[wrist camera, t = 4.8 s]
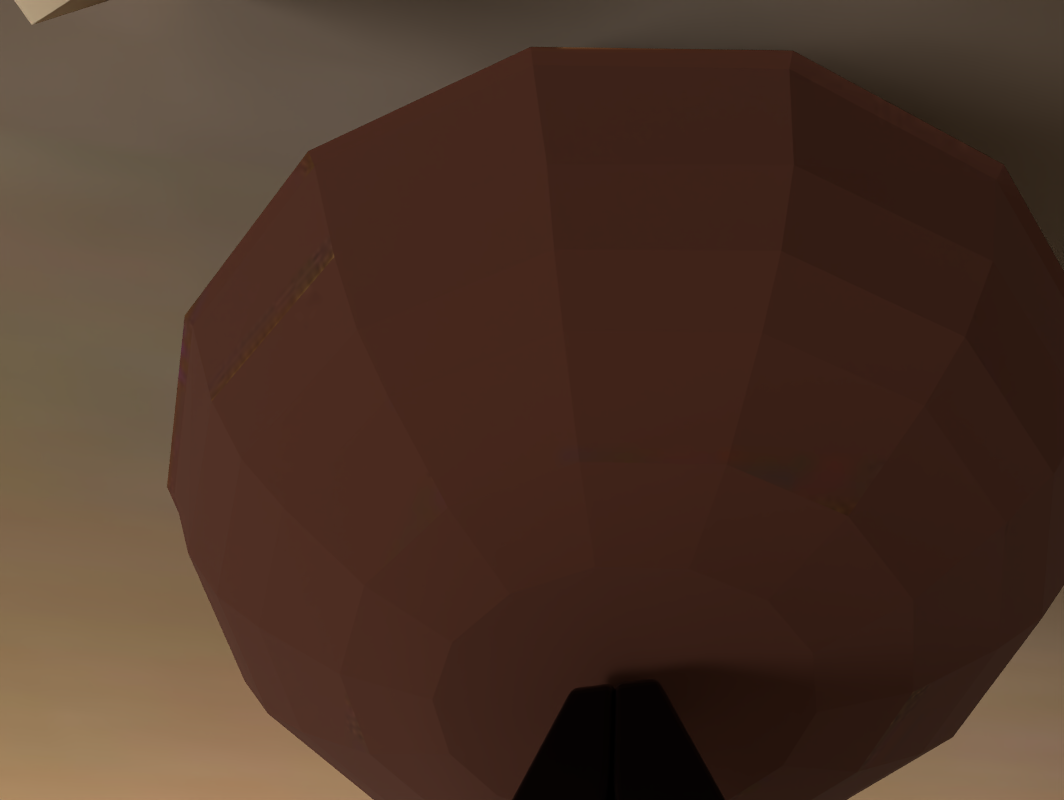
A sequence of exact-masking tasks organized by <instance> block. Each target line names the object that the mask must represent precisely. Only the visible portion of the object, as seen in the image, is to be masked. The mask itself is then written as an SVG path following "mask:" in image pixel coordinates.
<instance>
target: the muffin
mask: <svg viewBox="0 0 1064 800" xmlns="http://www.w3.org/2000/svg"><path fill="white" fill-rule="evenodd" d="M167 488H168V490H169V492H170V494H171V496H172V499H173V501H174V503H175V505H176V508H177V510H178V512H179V515H180V519H181V524H182V528H183V532H184V537H185V541H186V545H187V550H188V553H189V556H190V558H191V560H192V562H193V565H194V567H195V569H196V571H197V574H198V576H199V578H200V581H201V583H202V585H203V587H204V590H205V592H206V594H207V596H208V599H209V601H210V603H211V606H212V608H213V610H214V612H215V615H216V617H217V619H218V621H219V624H220V626H221V628H222V630H223V633H224V635H225V637H226V640H227V642H228V644H229V646H230V649H231V651H232V653H233V655H234V658H235V660H236V662H237V664H238V667H239V669H240V671H241V674H242V676H243V678H244V680H245V682H246V684H247V685H248V686H249V688H250V689H251V690H252V692H253V693H254V695H255V696H256V697H257V699H258V700H259V702H260V703H261V704H262V706H263V707H264V709H265V710H266V711H267V713H268V714H269V715H270V716H272V717H273V718H274V719H275V720H277V721H278V722H279V723H280V724H282V725H283V726H284V727H285V728H286V729H288V730H289V731H290V732H291V733H293V734H294V735H295V736H296V737H297V738H299V739H300V740H301V741H302V742H304V743H305V744H306V745H307V746H308V747H310V748H311V749H312V750H313V751H315V752H316V753H317V754H318V755H320V756H321V757H322V758H323V759H324V760H326V761H327V762H328V763H329V764H331V765H332V766H333V767H334V768H335V769H337V770H338V771H339V772H340V773H342V774H343V775H344V776H345V777H346V778H348V779H349V780H350V781H351V782H353V783H354V784H355V785H356V786H358V787H359V788H360V789H361V790H362V791H364V792H365V793H366V794H367V795H369V796H370V797H371V798H372V799H374V800H512V799H513V797H514V795H515V793H516V791H517V790H518V788H519V786H520V784H521V782H522V780H523V778H524V777H525V775H526V773H527V771H528V769H529V767H530V765H531V764H532V762H533V760H534V758H535V756H536V754H537V752H538V751H539V749H540V747H541V745H542V743H543V741H544V739H545V738H546V736H547V734H548V732H549V730H550V728H551V726H552V725H553V723H554V721H555V719H556V717H557V715H558V713H559V712H560V710H561V708H562V706H563V704H564V702H565V700H566V699H567V697H568V695H569V693H570V692H571V691H572V690H574V689H575V688H579V687H587V686H595V685H603V684H609V685H611V686H613V687H614V688H615V690H616V687H617V685H618V684H619V683H621V682H628V681H637V680H645V679H655V680H657V681H658V682H659V683H660V684H661V685H662V687H663V689H664V691H665V693H666V694H667V696H668V698H669V700H670V702H671V703H672V705H673V707H674V709H675V710H676V712H677V714H678V716H679V718H680V719H681V721H682V723H683V725H684V727H685V728H686V730H687V732H688V734H689V736H690V737H691V739H692V741H693V743H694V745H695V746H696V748H697V750H698V752H699V754H700V755H701V757H702V759H703V761H704V763H705V764H706V766H707V768H708V770H709V771H710V773H711V775H712V777H713V779H714V780H715V782H716V784H717V786H718V788H719V789H720V791H721V793H722V795H723V797H724V798H725V800H847V799H849V798H850V797H852V796H854V795H855V794H857V793H859V792H860V791H862V790H864V789H866V788H867V787H869V786H871V785H872V784H874V783H876V782H877V781H879V780H881V779H882V778H884V777H886V776H888V775H889V774H891V773H893V772H894V771H896V770H898V769H899V768H901V767H903V766H905V765H906V764H908V763H910V762H911V761H913V760H915V759H916V758H918V757H920V756H921V755H923V754H925V753H927V752H928V751H930V750H932V749H933V748H935V747H937V746H938V745H940V744H942V743H943V742H945V741H947V740H949V739H950V738H952V737H953V736H954V735H955V733H956V732H957V731H958V729H959V728H960V727H961V725H962V724H963V723H964V721H965V720H966V719H967V717H968V716H969V715H970V713H971V712H972V711H973V709H974V708H975V707H976V705H977V704H978V703H979V701H980V700H981V699H982V697H983V696H984V695H985V693H986V692H987V691H988V689H989V688H990V687H991V685H992V684H993V683H994V681H995V680H996V679H997V677H998V676H999V675H1000V673H1001V672H1002V671H1003V669H1004V668H1005V667H1006V665H1007V664H1008V663H1009V661H1010V660H1011V659H1012V657H1013V656H1014V655H1015V653H1016V652H1017V651H1018V649H1019V648H1020V647H1021V645H1022V644H1023V643H1024V641H1025V640H1026V639H1027V637H1028V636H1029V635H1030V633H1031V632H1032V631H1033V629H1034V628H1035V627H1036V625H1037V624H1038V623H1039V621H1040V620H1041V619H1042V617H1043V616H1044V614H1045V613H1046V611H1047V610H1048V608H1049V607H1050V605H1051V604H1052V602H1053V601H1054V599H1055V598H1056V596H1057V595H1058V593H1059V592H1060V590H1061V589H1062V587H1063V586H1064V271H1063V269H1062V267H1061V266H1060V264H1059V262H1058V260H1057V258H1056V257H1055V255H1054V253H1053V251H1052V250H1051V248H1050V246H1049V244H1048V242H1047V241H1046V239H1045V237H1044V235H1043V234H1042V232H1041V230H1040V228H1039V226H1038V225H1037V223H1036V221H1035V219H1034V217H1033V216H1032V214H1031V212H1030V210H1029V209H1028V207H1027V205H1026V203H1025V201H1024V200H1023V198H1022V196H1021V194H1020V192H1019V191H1018V189H1017V187H1016V185H1015V184H1014V182H1013V180H1012V178H1011V176H1010V175H1009V173H1008V171H1007V169H1006V168H1005V166H1004V165H1003V164H1002V163H1000V162H998V161H996V160H994V159H992V158H991V157H989V156H987V155H985V154H983V153H981V152H979V151H978V150H976V149H974V148H972V147H970V146H968V145H966V144H965V143H963V142H961V141H959V140H957V139H955V138H954V137H952V136H950V135H948V134H946V133H944V132H942V131H941V130H939V129H937V128H935V127H933V126H931V125H929V124H928V123H926V122H924V121H922V120H920V119H918V118H916V117H915V116H913V115H911V114H909V113H907V112H905V111H904V110H902V109H900V108H898V107H896V106H894V105H892V104H891V103H889V102H887V101H885V100H883V99H881V98H879V97H878V96H876V95H874V94H872V93H870V92H868V91H867V90H865V89H863V88H861V87H859V86H857V85H855V84H854V83H852V82H850V81H848V80H846V79H844V78H842V77H841V76H839V75H837V74H835V73H833V72H831V71H829V70H828V69H826V68H824V67H822V66H820V65H818V64H817V63H815V62H813V61H811V60H809V59H807V58H805V57H804V56H802V55H800V54H798V53H796V52H794V51H783V50H712V49H641V48H570V47H530V48H527V49H525V50H523V51H521V52H519V53H517V54H515V55H512V56H510V57H508V58H506V59H504V60H502V61H500V62H498V63H495V64H493V65H491V66H489V67H487V68H485V69H483V70H480V71H478V72H476V73H474V74H472V75H470V76H468V77H466V78H463V79H461V80H459V81H457V82H455V83H453V84H451V85H448V86H446V87H444V88H442V89H440V90H438V91H436V92H434V93H431V94H429V95H427V96H425V97H423V98H421V99H419V100H416V101H414V102H412V103H410V104H408V105H406V106H404V107H402V108H399V109H397V110H395V111H393V112H391V113H389V114H387V115H385V116H382V117H380V118H378V119H376V120H374V121H372V122H370V123H367V124H365V125H363V126H361V127H359V128H357V129H355V130H353V131H350V132H348V133H346V134H344V135H342V136H340V137H338V138H335V139H333V140H331V141H329V142H327V143H325V144H323V145H321V146H318V147H316V148H314V149H312V150H310V151H308V152H307V154H306V155H305V156H304V158H303V159H302V160H301V162H300V163H299V164H298V166H297V167H296V168H295V170H294V171H293V172H292V174H291V175H290V176H289V178H288V179H287V180H286V182H285V183H284V184H283V186H282V187H281V188H280V190H279V191H278V192H277V194H276V195H275V196H274V198H273V199H272V200H271V202H270V203H269V204H268V206H267V207H266V208H265V210H264V211H263V212H262V214H261V215H260V216H259V218H258V219H257V220H256V222H255V223H254V224H253V226H252V227H251V228H250V230H249V231H248V232H247V234H246V235H245V236H244V238H243V239H242V240H241V242H240V243H239V244H238V246H237V247H236V248H235V250H234V251H233V252H232V254H231V255H230V256H229V258H228V259H227V260H226V262H225V263H224V264H223V266H222V267H221V268H220V270H219V271H218V272H217V274H216V275H215V276H214V277H213V279H212V280H211V281H210V283H209V284H208V285H207V287H206V288H205V289H204V291H203V292H202V293H201V295H200V296H199V297H198V299H197V300H196V301H195V303H194V304H193V305H192V307H191V308H190V309H189V311H188V312H187V313H186V315H185V319H184V329H183V339H182V348H181V358H180V368H179V377H178V387H177V397H176V406H175V416H174V426H173V435H172V445H171V455H170V464H169V474H168V484H167Z"/></svg>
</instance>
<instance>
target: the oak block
mask: <svg viewBox="0 0 1064 800" xmlns="http://www.w3.org/2000/svg"><path fill="white" fill-rule="evenodd" d="M14 1H15V2H16V3H17V5H18V6H19V8H20V9H21V10H22V12H23V13H24V15H25V16H26V17H27V19H28V20H29V22H30V23H31V24H32V25H33V24H36V23H39V22H43V21H46V20H49V19H52V18H55V17H58V16H61V15H64V14H68V13H71V12H74V11H77V10H80V9H83V8H86V7H90V6H93V5H96V4H99V3H102V2H105V1H108V0H14Z"/></svg>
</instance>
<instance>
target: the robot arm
mask: <svg viewBox="0 0 1064 800" xmlns="http://www.w3.org/2000/svg"><path fill="white" fill-rule="evenodd" d="M512 800H725V798H724V797H723V795H722V793H721V791H720V789H719V788H718V786H717V784H716V782H715V780H714V779H713V777H712V775H711V773H710V771H709V770H708V768H707V766H706V764H705V763H704V761H703V759H702V757H701V755H700V754H699V752H698V750H697V748H696V746H695V745H694V743H693V741H692V739H691V737H690V736H689V734H688V732H687V730H686V728H685V727H684V725H683V723H682V721H681V719H680V718H679V716H678V714H677V712H676V710H675V709H674V707H673V705H672V703H671V702H670V700H669V698H668V696H667V694H666V693H665V691H664V689H663V687H662V685H661V684H660V683H659V682H658V681H657V680H655V679H645V680H637V681H628V682H621V683H619V684H618V685H617V687H616V690H615V688H614V687H613V686H611V685H609V684H603V685H595V686H587V687H579V688H575V689H574V690H572V691H571V692H570V693H569V695H568V697H567V699H566V700H565V702H564V704H563V706H562V708H561V710H560V712H559V713H558V715H557V717H556V719H555V721H554V723H553V725H552V726H551V728H550V730H549V732H548V734H547V736H546V738H545V739H544V741H543V743H542V745H541V747H540V749H539V751H538V752H537V754H536V756H535V758H534V760H533V762H532V764H531V765H530V767H529V769H528V771H527V773H526V775H525V777H524V778H523V780H522V782H521V784H520V786H519V788H518V790H517V791H516V793H515V795H514V797H513V799H512Z"/></svg>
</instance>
